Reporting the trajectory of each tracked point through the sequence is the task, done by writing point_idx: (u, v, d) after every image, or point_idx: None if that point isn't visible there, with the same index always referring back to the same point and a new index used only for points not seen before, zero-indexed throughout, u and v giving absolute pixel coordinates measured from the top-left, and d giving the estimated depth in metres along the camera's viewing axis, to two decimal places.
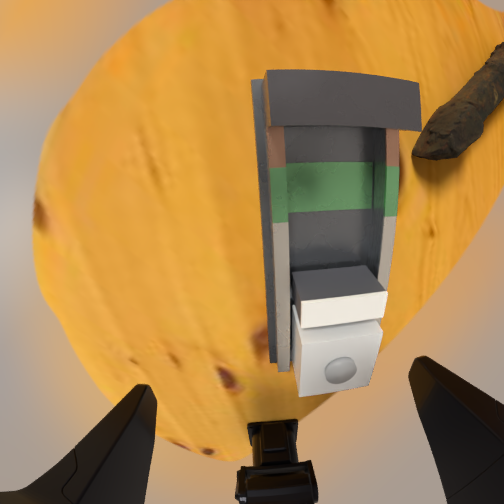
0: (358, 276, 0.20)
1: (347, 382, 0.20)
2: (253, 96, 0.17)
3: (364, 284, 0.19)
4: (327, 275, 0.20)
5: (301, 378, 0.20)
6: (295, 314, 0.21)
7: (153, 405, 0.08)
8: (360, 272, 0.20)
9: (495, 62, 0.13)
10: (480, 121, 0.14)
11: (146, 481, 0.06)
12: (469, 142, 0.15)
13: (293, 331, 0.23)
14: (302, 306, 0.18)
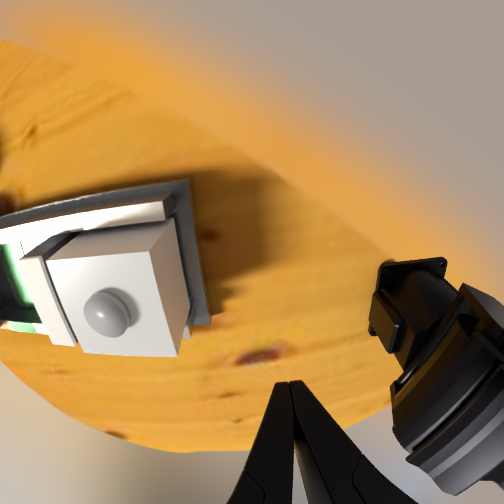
0: None
1: (139, 294, 0.12)
2: None
3: None
4: None
5: (135, 354, 0.14)
6: None
7: None
8: None
9: None
10: None
11: None
12: None
13: None
14: (55, 343, 0.14)
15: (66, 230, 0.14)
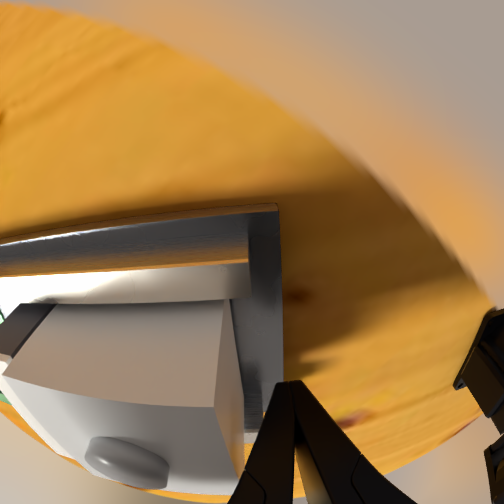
0: None
1: (187, 451, 0.05)
2: None
3: None
4: None
5: (176, 491, 0.07)
6: None
7: None
8: None
9: None
10: None
11: None
12: None
13: None
14: (60, 453, 0.08)
15: (50, 299, 0.07)
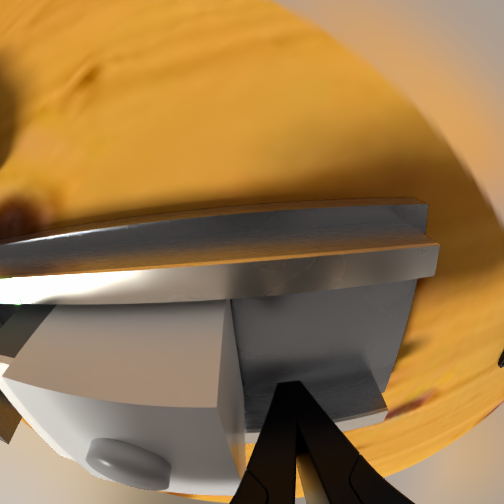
0: None
1: (189, 452, 0.05)
2: None
3: None
4: None
5: (177, 491, 0.07)
6: None
7: None
8: None
9: None
10: None
11: None
12: None
13: None
14: (64, 456, 0.07)
15: (214, 295, 0.07)
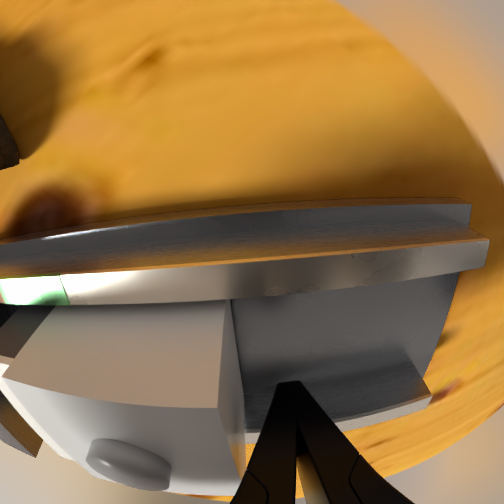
0: None
1: (190, 452, 0.05)
2: None
3: None
4: None
5: (177, 492, 0.07)
6: None
7: None
8: None
9: None
10: None
11: None
12: None
13: None
14: (64, 456, 0.07)
15: (311, 287, 0.07)
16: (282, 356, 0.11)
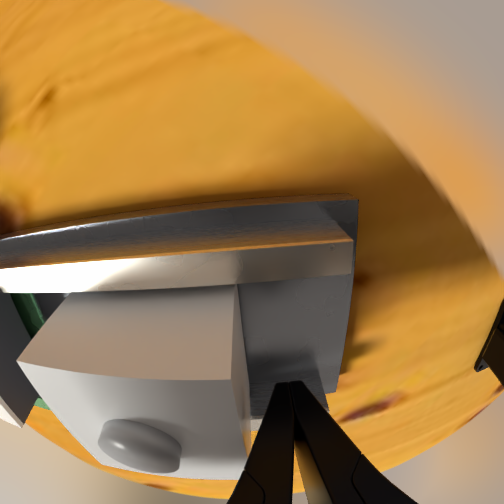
0: None
1: (201, 430, 0.06)
2: None
3: None
4: None
5: (185, 477, 0.08)
6: None
7: None
8: None
9: None
10: None
11: None
12: None
13: None
14: (2, 418, 0.08)
15: (129, 285, 0.08)
16: None
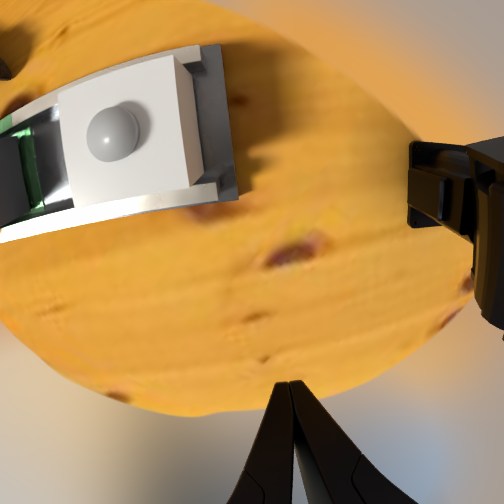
0: None
1: (154, 102, 0.10)
2: None
3: None
4: None
5: (137, 194, 0.12)
6: None
7: None
8: None
9: None
10: None
11: None
12: None
13: None
14: None
15: None
16: None
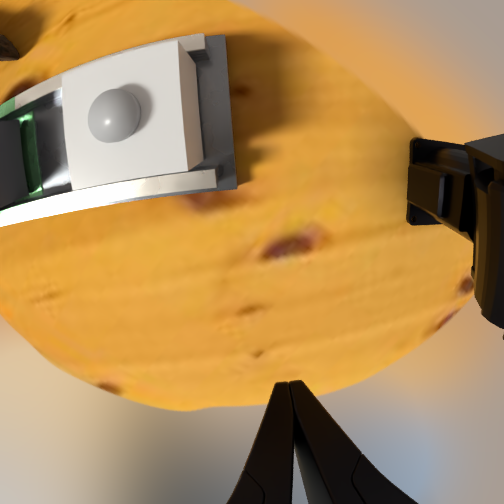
0: None
1: (157, 86, 0.10)
2: None
3: None
4: None
5: (135, 176, 0.12)
6: None
7: None
8: None
9: None
10: None
11: None
12: None
13: None
14: None
15: None
16: None
